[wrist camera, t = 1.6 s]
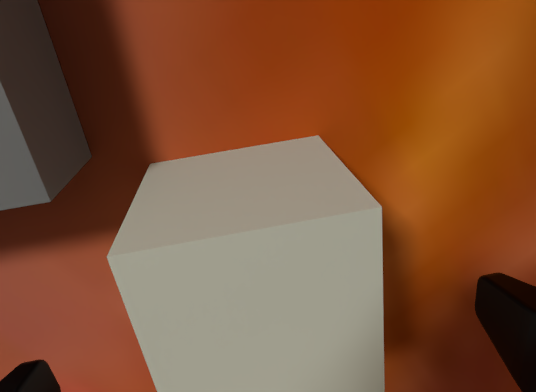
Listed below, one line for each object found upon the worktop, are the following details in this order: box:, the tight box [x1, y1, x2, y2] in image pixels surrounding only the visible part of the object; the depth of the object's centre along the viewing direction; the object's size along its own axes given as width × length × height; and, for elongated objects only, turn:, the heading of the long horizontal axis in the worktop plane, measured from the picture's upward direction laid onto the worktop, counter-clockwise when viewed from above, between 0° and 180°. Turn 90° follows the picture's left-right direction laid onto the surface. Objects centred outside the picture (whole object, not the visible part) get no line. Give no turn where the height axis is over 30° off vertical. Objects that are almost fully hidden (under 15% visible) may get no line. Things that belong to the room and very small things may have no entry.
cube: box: [107, 136, 384, 392], centre depth 10 cm, size 5×5×5 cm
